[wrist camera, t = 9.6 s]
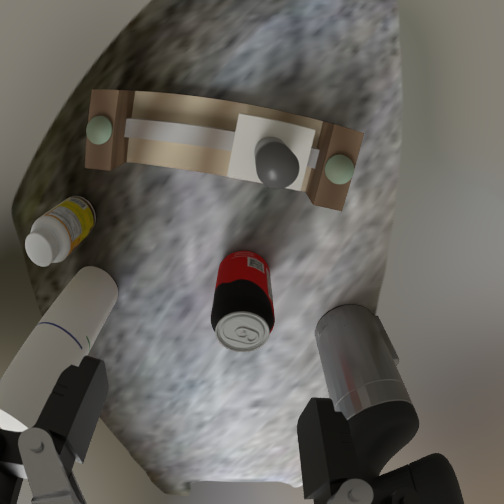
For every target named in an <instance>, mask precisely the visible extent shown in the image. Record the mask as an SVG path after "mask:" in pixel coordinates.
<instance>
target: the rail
mask: <svg viewBox="0 0 504 504" xmlns="http://www.w3.org/2000/svg"><path fill="white" fill-rule="evenodd" d="M239 113H243V114H248V115H254V116H259V117H264V118H269V119H274V120H278V121H283V122H287V123H292V124H296V125H300V126H304V127H308V128H312V129H314V130H316V131H315V135H314V139H313V143H312V147H311V151H310V155H309V159H308V163H307V167H306V171H305V175H304V179H303V183H302V187H301V191H304V192H306V194H307V195H308V197H309V199H310V200H311V202H312V203H313V205H316V206H321V207H325V208H330V209H334V210H339V211H342V209H343V206H344V203H345V199H346V196H347V193H348V189H349V186H350V182H351V179H352V176H353V174H354V168H355V165H356V161H357V158H358V154H359V150H360V146H361V143H362V139H363V135H364V133H362V132H358V131H355V130H352V129H349V128H345V127H342V126H339V125H335V124H331V123H327V122H324V121H320V120H316V119H312V118H308V117H304V116H300V115H296V114H292V113H287V112H283V111H278V110H274V109H269V108H264V107H259V106H254V105H249V104H243V103H237V102H231V101H225V100H219V99H212V98H205V97H197V96H189V95H180V94H170V93H159V92H145V91H129V90H92V93H91V101H90V109H89V118H88V125H87V129H86V134H87V140H86V155H85V168H89V169H98V170H107V171H111V170H113V169H115V168H116V167H118V166H120V165H122V164H124V163H125V162H132V163H141V164H148V165H156V166H163V167H171V168H178V169H184V170H191V171H197V172H204V173H210V174H216V175H222V176H227V173H228V168H229V162H230V157H231V152H232V147H233V141H234V136H235V131H236V126H237V121H238V116H239Z"/></svg>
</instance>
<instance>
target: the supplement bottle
mask: <svg viewBox="0 0 504 504" xmlns="http://www.w3.org/2000/svg"><path fill="white" fill-rule="evenodd" d="M95 222H96V215H95V211H94V209H93V207H92V205H91V204H90V203H89V201H87V200H86V199H85V198H83V197H80V196H71V197H69V198H67V199H66V200H64V201H63V202H61V203H60V204H58V205H57V206H55V207H54V208H52V209H51V210H50V211H48V212H47V213H45V214H44V215H42V216H41V217H40V218H38V219H37V220H36V221H35V222H34V224H33V226H32V229H31V233H30V234H29V235H28V236H27V238H26V241H25V248H26V252H27V254H28V256H29V258H30V259H31V260H32V261H33V262H34V263H35V264H37V265H39V266H43V267H45V266H48V265H49V264H50V263H57V262H60V261H62V260H64V259H65V258H66V257H67V256H68V255H69V254H70V253H71V252H72V251H73V250H74V249H75V248H76V246H77V245H78V244H79V243H80V242H81V241H82V240H83V239H84V238H85V237H86V236H87V235H88V234H89V233H90V232H91V231H92V230H93V228H94V226H95Z"/></svg>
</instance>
